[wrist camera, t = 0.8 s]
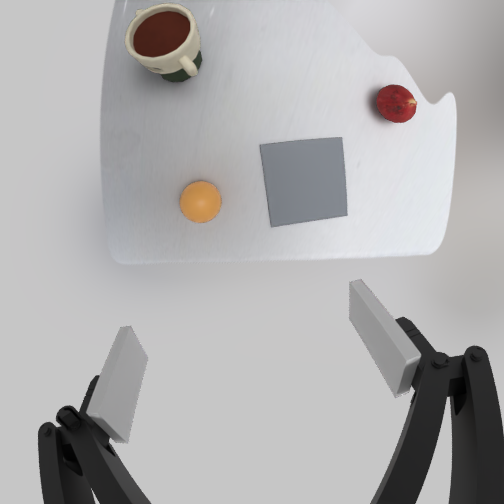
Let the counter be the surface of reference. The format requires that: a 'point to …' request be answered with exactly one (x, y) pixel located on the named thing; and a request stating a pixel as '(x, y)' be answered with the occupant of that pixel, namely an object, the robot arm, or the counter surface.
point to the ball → (200, 202)
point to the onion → (396, 103)
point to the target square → (304, 180)
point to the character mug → (165, 41)
